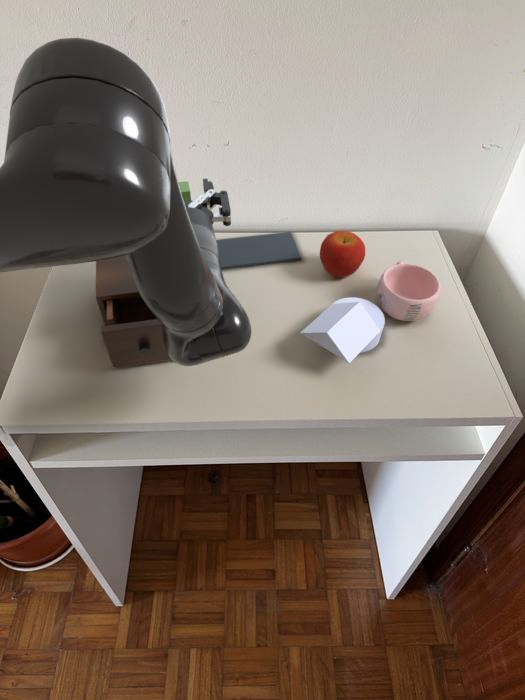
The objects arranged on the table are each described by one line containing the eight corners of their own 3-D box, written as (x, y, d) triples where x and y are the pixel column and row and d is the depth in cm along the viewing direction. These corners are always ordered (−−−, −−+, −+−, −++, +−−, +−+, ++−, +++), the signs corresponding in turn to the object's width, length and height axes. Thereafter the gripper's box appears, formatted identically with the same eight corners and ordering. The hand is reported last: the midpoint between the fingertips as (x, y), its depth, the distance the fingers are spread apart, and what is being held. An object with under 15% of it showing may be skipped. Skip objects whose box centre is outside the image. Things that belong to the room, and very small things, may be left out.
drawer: (184, 364, 74) (179, 328, 68) (113, 374, 73) (101, 338, 67) (175, 301, 83) (170, 265, 77) (111, 309, 81) (101, 272, 75)
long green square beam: (183, 267, 89) (174, 192, 78) (181, 256, 91) (172, 182, 80) (197, 265, 90) (190, 191, 78) (195, 255, 91) (188, 181, 80)
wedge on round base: (345, 377, 74) (390, 330, 81) (353, 348, 69) (400, 300, 76) (298, 347, 78) (345, 304, 85) (302, 317, 73) (351, 274, 80)
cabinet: (183, 331, 80) (177, 287, 72) (109, 341, 78) (95, 297, 71) (175, 276, 88) (169, 231, 81) (108, 284, 87) (96, 239, 79)
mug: (439, 327, 82) (451, 301, 77) (380, 330, 81) (388, 303, 77) (419, 279, 90) (428, 253, 85) (365, 280, 89) (371, 254, 84)
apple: (366, 282, 89) (375, 247, 83) (324, 288, 87) (330, 252, 81) (352, 255, 94) (359, 220, 88) (312, 260, 92) (316, 225, 86)
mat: (182, 274, 89) (181, 271, 88) (177, 246, 94) (177, 244, 93) (300, 260, 92) (301, 257, 92) (290, 234, 97) (290, 231, 97)
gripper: (240, 219, 68) (221, 160, 79) (134, 230, 66) (129, 167, 76) (240, 262, 74) (223, 201, 84) (143, 273, 72) (137, 210, 82)
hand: (178, 185), depth 80 cm, fingers open, 8 cm apart
